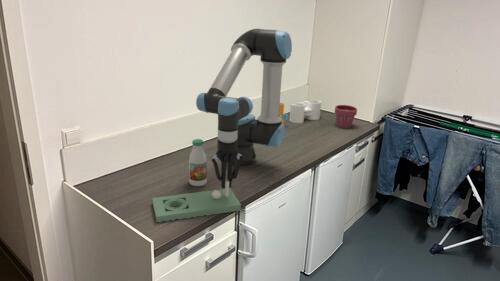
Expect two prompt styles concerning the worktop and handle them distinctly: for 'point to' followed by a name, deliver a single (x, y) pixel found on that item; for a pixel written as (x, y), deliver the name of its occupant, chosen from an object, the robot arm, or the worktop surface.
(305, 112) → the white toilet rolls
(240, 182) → the worktop surface
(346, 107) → the plant pot
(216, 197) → the ball
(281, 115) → the orange blue toy
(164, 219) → the plate
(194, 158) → the milk bottle
